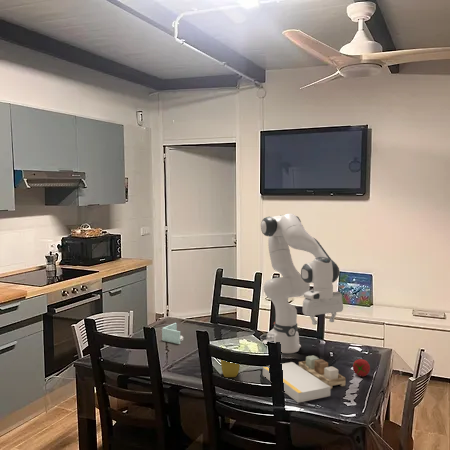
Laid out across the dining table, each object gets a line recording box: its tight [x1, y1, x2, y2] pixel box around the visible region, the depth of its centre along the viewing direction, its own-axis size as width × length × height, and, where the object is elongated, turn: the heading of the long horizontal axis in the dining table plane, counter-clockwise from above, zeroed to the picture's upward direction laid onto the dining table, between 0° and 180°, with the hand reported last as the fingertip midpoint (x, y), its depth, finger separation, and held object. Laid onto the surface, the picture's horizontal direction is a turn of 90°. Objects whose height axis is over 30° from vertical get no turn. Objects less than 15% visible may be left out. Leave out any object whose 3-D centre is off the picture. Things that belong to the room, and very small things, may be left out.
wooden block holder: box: [298, 358, 347, 389], centre depth 227 cm, size 24×9×8 cm, turn 24°
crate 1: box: [305, 355, 320, 369], centre depth 234 cm, size 4×4×4 cm
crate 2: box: [324, 365, 339, 380], centre depth 220 cm, size 4×4×4 cm
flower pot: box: [220, 359, 241, 378], centre depth 228 cm, size 9×9×9 cm
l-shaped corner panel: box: [161, 322, 184, 345], centre depth 277 cm, size 12×12×8 cm
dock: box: [262, 361, 332, 404], centre depth 218 cm, size 30×16×4 cm, turn 24°
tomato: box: [352, 358, 371, 378], centre depth 229 cm, size 8×8×8 cm
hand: (323, 323), depth 226 cm, fingers open, 8 cm apart
